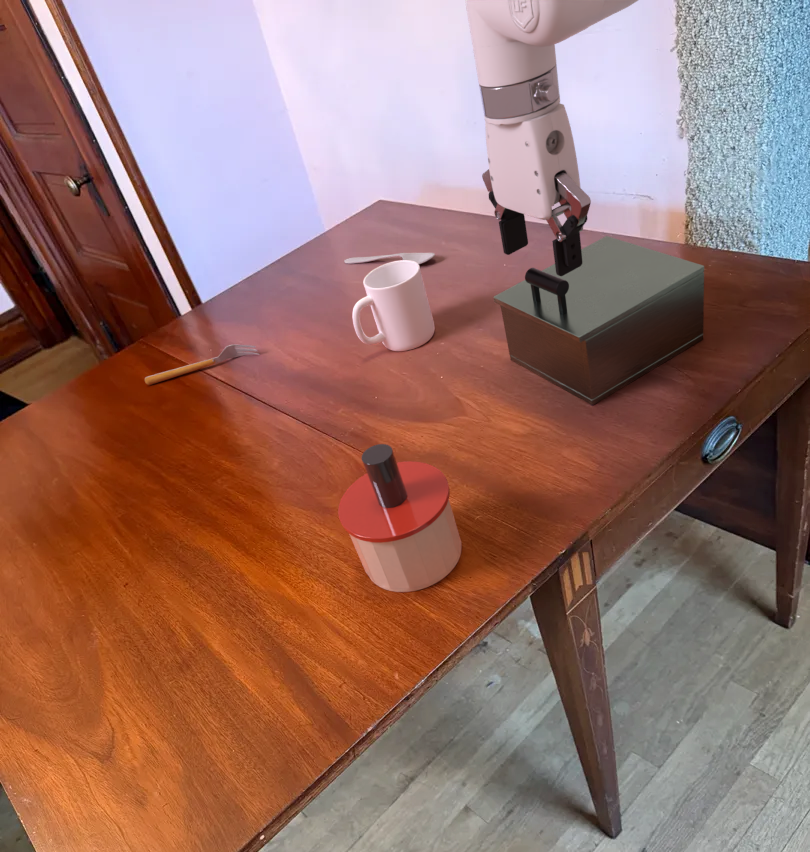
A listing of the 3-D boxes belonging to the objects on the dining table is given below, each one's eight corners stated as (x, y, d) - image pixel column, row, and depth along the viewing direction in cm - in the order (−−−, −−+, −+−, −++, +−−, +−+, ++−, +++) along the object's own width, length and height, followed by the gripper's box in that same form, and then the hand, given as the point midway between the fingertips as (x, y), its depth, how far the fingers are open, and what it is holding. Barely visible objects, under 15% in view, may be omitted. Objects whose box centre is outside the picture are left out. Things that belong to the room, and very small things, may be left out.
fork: (141, 381, 122) (255, 344, 119) (141, 373, 123) (254, 337, 120) (149, 391, 124) (261, 356, 121) (149, 383, 125) (261, 348, 122)
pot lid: (460, 466, 76) (445, 413, 71) (439, 546, 68) (421, 491, 64) (358, 472, 79) (338, 422, 75) (328, 548, 72) (304, 497, 67)
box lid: (579, 343, 83) (575, 303, 79) (494, 302, 94) (487, 266, 91) (704, 272, 86) (704, 231, 83) (607, 241, 98) (604, 204, 95)
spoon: (429, 269, 128) (427, 260, 126) (338, 266, 139) (335, 258, 138) (442, 257, 130) (440, 248, 129) (351, 255, 141) (348, 247, 140)
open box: (592, 405, 89) (585, 340, 83) (510, 359, 100) (499, 300, 95) (703, 339, 92) (704, 272, 87) (611, 302, 104) (607, 241, 98)
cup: (446, 332, 110) (430, 267, 104) (379, 370, 108) (358, 306, 101) (417, 317, 116) (400, 255, 109) (352, 353, 113) (331, 291, 107)
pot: (469, 518, 80) (454, 465, 75) (451, 592, 73) (434, 538, 68) (379, 521, 84) (359, 470, 79) (354, 592, 77) (331, 541, 72)
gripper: (609, 86, 68) (620, 264, 80) (499, 74, 80) (522, 229, 92) (544, 118, 66) (564, 295, 78) (442, 101, 79) (472, 255, 90)
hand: (541, 259), depth 85 cm, fingers open, 9 cm apart
